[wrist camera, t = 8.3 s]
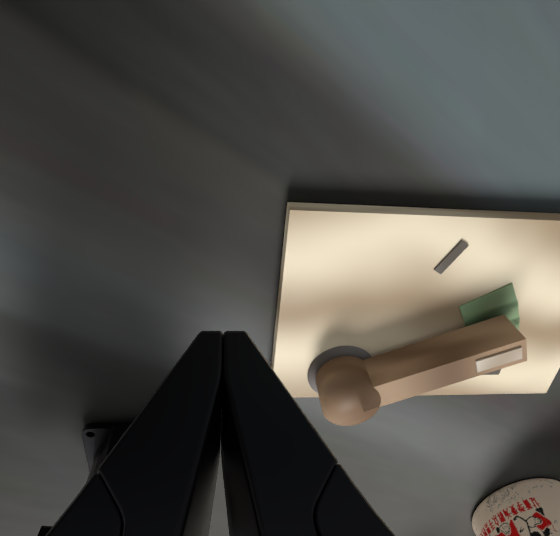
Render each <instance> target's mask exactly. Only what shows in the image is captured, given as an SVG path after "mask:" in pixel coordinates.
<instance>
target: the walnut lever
mask: <svg viewBox="0 0 560 536" xmlns="http://www.w3.org/2000/svg"><path fill="white" fill-rule="evenodd" d="M525 361H527V343H526V338H525V337H524V336H523V335H522V334H521V333H520V331H519V330H518V329H517V328H516V327H515V326H514V325H513V324H512V323H511V322H510V321H509V320H508V319H507V317H506V316H505V315H504V314H503V315H500V316H497V317H494V318H491V319H488V320H485V321H482V322H479V323H476V324H473V325H469V326H466V327H463V328H460V329H457V330H454V331H451V332H448V333H445V334H442V335H438V336H435V337H432V338H429V339H426V340H423V341H420V342H417V343H414V344H411V345H407V346H404V347H401V348H398V349H395V350H392V351H389V352H386V353H383V354H380V355H377V356H373V357H370V358H367V359H364V360H362V359H360V358H358V357H354V356H340V357H336V358H334V359H331V360H329V361H328V362H326V363H325V364H323V365H322V366H321V367H320V369H319V370H318V372H317V374H316V378H315V382H316V387H317V391H318V395H319V399H320V403H321V408H322V412H323V415H324V416H325V418H326V419H327V420H328V421H330V422H332V423H334V424H337V425H342V426H350V425H356V424H359V423H362V422H364V421H366V420H368V419H369V418H371V417H372V416H373V415H374V414H375V413H376V412H377V411H378V409H379V407H381V406H384V405H387V404H391V403H394V402H397V401H400V400H403V399H407V398H410V397H413V396H416V395H419V394H423V393H426V392H429V391H432V390H435V389H439V388H442V387H445V386H448V385H451V384H454V383H458V382H461V381H464V380H467V379H470V378H474V377H477V376H480V375H483V374H486V373H490V372H493V371H496V370H499V369H502V368H506V367H509V366H512V365H515V364H518V363H522V362H525Z"/></svg>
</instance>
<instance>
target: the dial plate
mask: <svg viewBox="0 0 560 536" xmlns="http://www.w3.org/2000/svg"><path fill="white" fill-rule="evenodd" d="M503 314H504V315H505V316H506V317H507V319H508V320H509V321H510V322H511V323H512V324H513V325H514V326H515V327H516V328H517V329H518V330H519V331H520V333H521V334H522V335H523V336H524V337H525V338H526V343H527V361H525V362H522V363H518V364H515V365H512V366H509V367H506V368H502V369H499V370H496V371H493V372H490V373H486V374H483V375H480V376H477V377H474V378H470V379H467V380H464V381H461V382H458V383H454V384H451V385H448V386H445V387H442V388H439V389H435V390H432V391H429V392H426V393H423V394H419V395H461V394H517V393H546V392H547V390H548V388H549V386H550V384H551V383H552V381H553V379H554V377H555V375H556V373H557V371H558V369H559V368H560V213H537V212H513V211H490V210H466V209H442V208H418V207H394V206H371V205H347V204H323V203H299V202H287V210H286V220H285V231H284V241H283V251H282V261H281V271H280V282H279V292H278V302H277V312H276V322H275V333H274V343H273V353H272V363H271V368H272V369H273V370H274V372H275V373H276V375H277V376H278V377H279V379H280V380H281V382H282V383H283V384H284V386H285V387H286V389H287V390H288V391H289V393H290V394H291V396H292V397H293V398H295V397H319V395H318V391H317V387H316V382H315V378H316V374H317V372H318V370H319V369H320V367H321V366H322V365H323V364H325V363H326V362H328V361H329V360H331V359H334V358H336V357H340V356H354V357H358V358H360V359H362V360H364V359H367V358H370V357H373V356H377V355H380V354H383V353H386V352H389V351H392V350H395V349H398V348H401V347H404V346H407V345H411V344H414V343H417V342H420V341H423V340H426V339H429V338H432V337H435V336H438V335H442V334H445V333H448V332H451V331H454V330H457V329H460V328H463V327H466V326H469V325H473V324H476V323H479V322H482V321H485V320H488V319H491V318H494V317H497V316H500V315H503Z"/></svg>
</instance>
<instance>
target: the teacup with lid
mask: <svg viewBox="0 0 560 536" xmlns="http://www.w3.org/2000/svg"><path fill="white" fill-rule="evenodd" d="M472 527H473V530H474V532H475V534H476V536H560V481H557V480H553V479H546V478H535V479H528V480H523V481H519V482H516V483H513V484H510V485H507V486H505V487H503V488H501V489H499V490H497V491H496V492H494V493H492V494H491V495H489V496H488V497H487V498H486V499H485V500H483V501H482V502H481V503H480V505H479V506H478V507H477V509H476V510H475V512H474V514H473V518H472Z"/></svg>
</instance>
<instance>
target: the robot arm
mask: <svg viewBox="0 0 560 536" xmlns="http://www.w3.org/2000/svg"><path fill="white" fill-rule="evenodd" d="M221 410H222V412H221ZM82 438H83V443H84V448H85V453H86V457H87V462H88V467H89V472H90V473H89V476H88V479H87V483H86V485H85V486H84V487H83V489H82V490H81V491H80V493H79V494H78V495H77V497H76V498H75V499H74V500H73V502H72V503H71V504H70V505H69V507H68V508H67V509H66V511H65V512H64V513H63V514H62V516H61V517H60V518H59V519H58V521H57V522H56V523H55V524H54V526H53V527H52V526H42V527H41V529H40V531H39V534H38V536H208V534H209V527H210V521H211V514H212V507H213V500H214V493H215V486H216V479H217V472H218V465H219V457H220V442H221V457H222V469H223V479H224V488H225V498H226V507H227V517H228V526H229V536H395V535H394V533H393V532H392V531H391V530H390V529H389V527H388V526H387V525H386V524H385V523H384V522H383V520H382V519H381V518H380V517H379V516H378V515H377V513H376V512H375V511H374V509H373V508H372V507H371V505H370V504H369V503H368V501H367V500H366V499H365V497H364V496H363V495H362V493H361V492H360V491H359V489H358V488H357V487H356V486H355V484H354V483H353V481H352V480H351V478H350V477H349V476H348V474H347V473H346V471H345V470H344V469H343V467H342V466H341V465H340V464H337V463H338V461H337V459H336V458H335V456H334V455H333V453H332V452H331V451H330V449H329V448H328V446H327V445H326V444H325V442H324V441H323V439H322V438H321V437H320V435H319V434H318V432H317V431H316V429H315V428H314V427H313V425H312V424H311V422H310V421H309V420H308V418H307V417H306V415H305V414H304V413H303V411H302V410H301V408H300V407H299V406H298V404H297V403H296V401H295V400H294V399H293V397H292V396H291V394H290V393H289V391H288V390H287V389H286V387H285V386H284V384H283V383H282V382H281V380H280V379H279V377H278V376H277V375H276V373H275V372H274V370H273V369H272V368H271V366H270V365H269V363H268V362H267V361H266V359H265V358H264V356H263V355H262V353H261V352H260V351H259V349H258V348H257V346H256V345H255V344H254V342H253V341H252V339H251V338H250V337H249V335H248V334H247V333H246V332H245V331H226V332H225V333H224V335H223V333H222V332H221V331H201V332H200V333H199V334H198V335H197V337H196V338H195V339H194V341H193V342H192V343H191V345H190V346H189V347H188V349H187V350H186V351H185V353H184V354H183V355H182V357H181V358H180V359H179V361H178V362H177V363H176V365H175V366H174V367H173V369H172V370H171V371H170V373H169V374H168V375H167V377H166V378H165V379H164V381H163V382H162V383H161V385H160V386H159V387H158V389H157V390H156V391H155V393H154V394H153V395H152V397H151V398H150V399H149V401H148V402H147V403H146V405H145V406H144V407H143V409H142V410H141V411H140V413H139V414H138V415H137V417H136V418H135V419H134V421H133V422H132V423H92V424H87V425H85V426H84V428H83V431H82Z"/></svg>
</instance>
